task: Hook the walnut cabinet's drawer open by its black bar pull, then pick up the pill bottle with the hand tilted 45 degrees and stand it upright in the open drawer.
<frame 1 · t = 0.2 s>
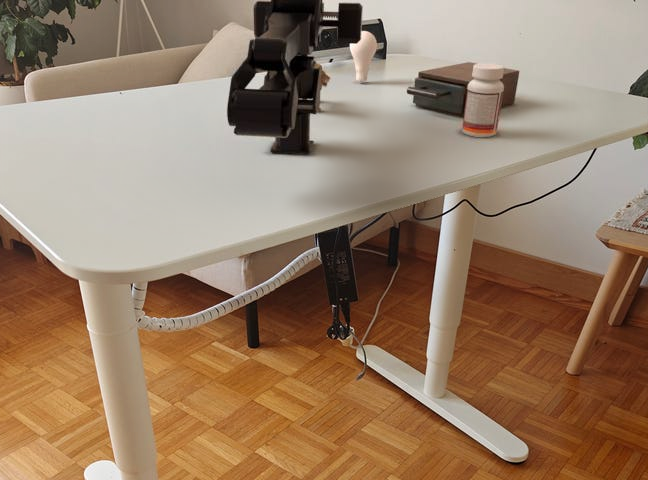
hand: (314, 17, 126), 17 cm above the table, tool horizontal, fingers open, 9 cm apart
pill bottle: (478, 134, 123), on the table
drawer: (452, 91, 136), point 3 cm above the table, slide at 0.5 cm
cabinet: (464, 105, 141), on the table
lightbulb: (361, 84, 159), on the table
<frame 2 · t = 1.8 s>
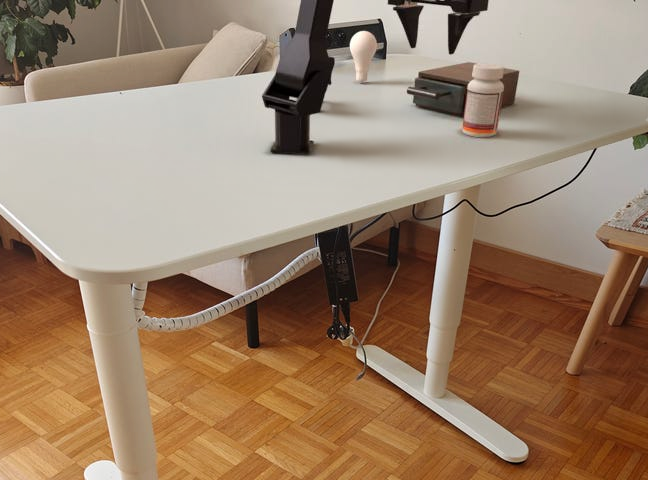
hand: (431, 51, 128), 12 cm above the table, tool pointing down, fingers open, 9 cm apart
nothing on the table moved.
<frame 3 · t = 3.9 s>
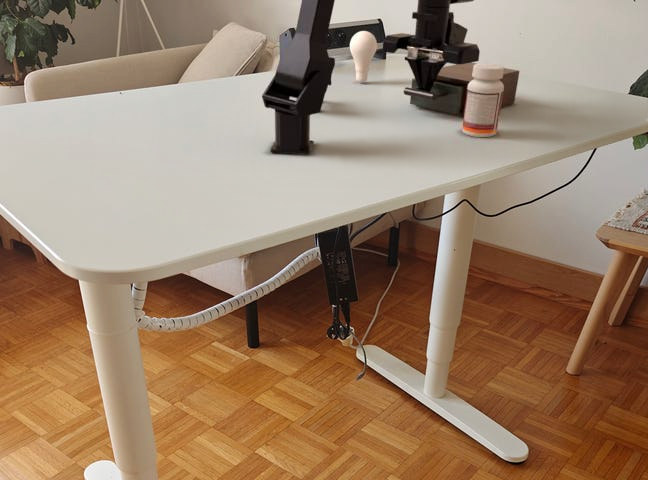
hand: (424, 97, 131), 4 cm above the table, tool pointing down, fingers closed, pressing on drawer
drawer: (450, 92, 136), point 3 cm above the table, slide at 1.4 cm, touching gripper
everything else where it was.
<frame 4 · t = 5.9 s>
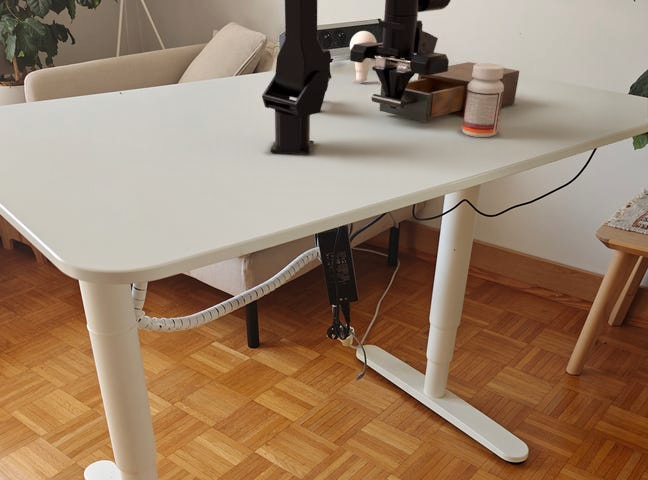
hand: (394, 108, 127), 3 cm above the table, tool pointing down, fingers closed, pressing on drawer
drawer: (420, 99, 131), point 3 cm above the table, slide at 10.5 cm, touching gripper
everything else where it was.
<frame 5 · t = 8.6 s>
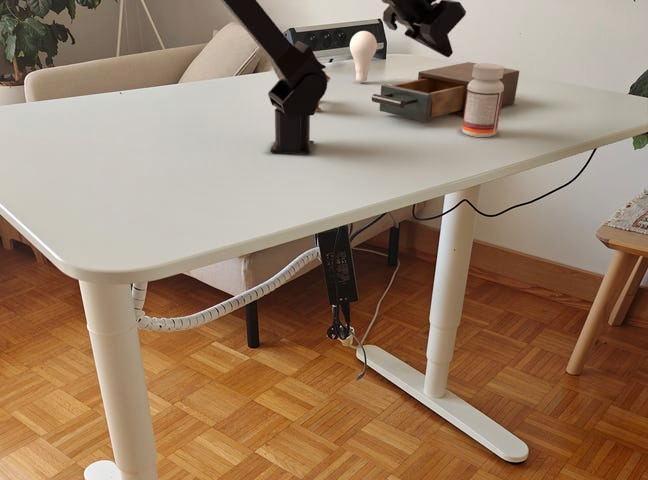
hand: (449, 54, 114), 13 cm above the table, tool tilted 45°, fingers closed
drawer: (420, 99, 131), point 3 cm above the table, slide at 10.5 cm
everything else where it was.
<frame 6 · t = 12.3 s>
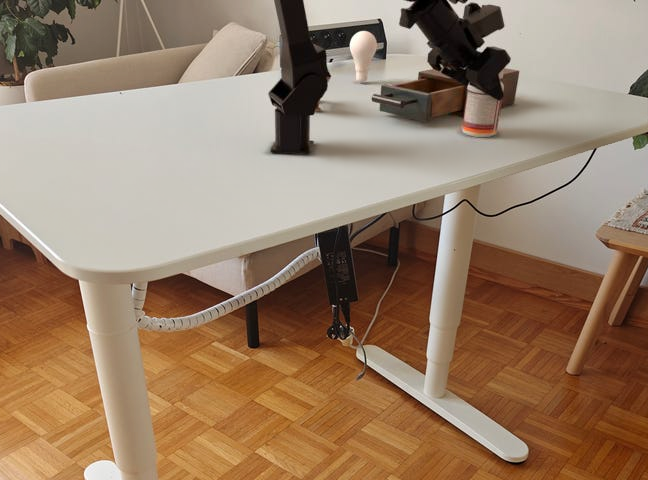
hand: (491, 94, 119), 7 cm above the table, tool tilted 45°, fingers closed on pill bottle, 6 cm apart
pill bottle: (478, 134, 123), on the table, touching gripper
everything else where it was.
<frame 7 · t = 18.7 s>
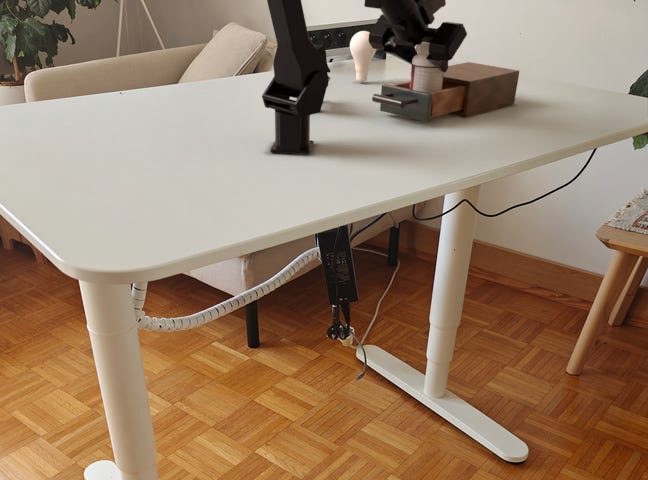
hand: (432, 67, 129), 9 cm above the table, tool tilted 45°, fingers closed on pill bottle, 6 cm apart
pill bottle: (423, 106, 132), point 2 cm above the table, touching drawer, gripper
drawer: (421, 98, 131), point 3 cm above the table, slide at 10.3 cm, touching pill bottle
everything else where it was.
when the fingers open (9 cm above the table, at t = 19.0 s): pill bottle stays where it is, resting on drawer.
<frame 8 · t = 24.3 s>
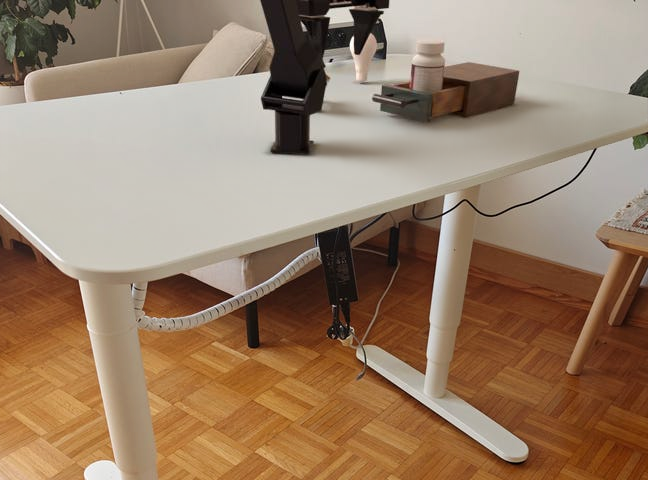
hand: (338, 57, 118), 12 cm above the table, tool pointing down, fingers open, 9 cm apart
pill bottle: (423, 106, 132), point 2 cm above the table, touching drawer
everything else where it was.
at the end: drawer slide at 10.3 cm; pill bottle 0.0 cm from the target spot, point 1.8 cm above the table; pill bottle tilted 0° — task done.
